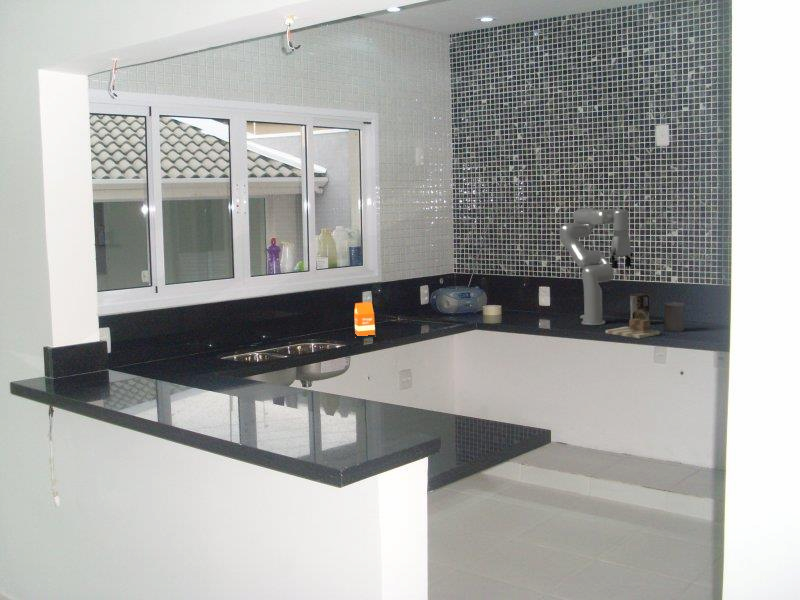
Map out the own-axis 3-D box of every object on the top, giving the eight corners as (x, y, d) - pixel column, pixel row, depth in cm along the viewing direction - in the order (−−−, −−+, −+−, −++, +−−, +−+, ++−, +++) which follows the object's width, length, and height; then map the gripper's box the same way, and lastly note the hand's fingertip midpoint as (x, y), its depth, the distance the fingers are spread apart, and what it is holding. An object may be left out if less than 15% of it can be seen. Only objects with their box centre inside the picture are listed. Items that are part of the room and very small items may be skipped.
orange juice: (375, 341, 450) (373, 302, 447) (359, 342, 447) (356, 304, 445) (371, 338, 457) (369, 301, 454) (355, 340, 455) (353, 302, 452)
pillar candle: (660, 330, 442) (660, 301, 440) (672, 327, 448) (672, 299, 446) (676, 332, 434) (676, 303, 432) (688, 330, 440) (688, 300, 438)
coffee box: (647, 323, 466) (647, 293, 464) (649, 325, 460) (649, 294, 457) (630, 323, 467) (629, 293, 465) (632, 325, 461) (631, 295, 458)
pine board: (605, 333, 442) (605, 330, 442) (625, 329, 450) (625, 326, 450) (639, 338, 424) (639, 335, 423) (659, 334, 432) (659, 331, 432)
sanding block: (629, 331, 435) (629, 319, 434) (636, 330, 438) (636, 318, 437) (643, 333, 428) (643, 321, 427) (650, 332, 430) (650, 320, 430)
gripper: (627, 232, 451) (627, 265, 454) (603, 235, 442) (604, 268, 444) (638, 232, 445) (638, 266, 447) (614, 235, 436) (615, 269, 438)
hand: (621, 267), depth 446 cm, fingers open, 9 cm apart
